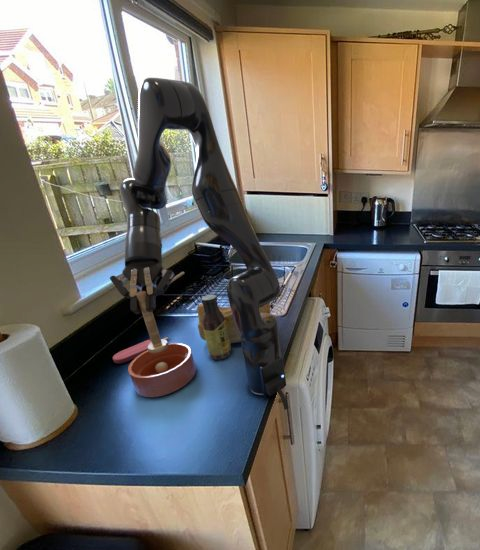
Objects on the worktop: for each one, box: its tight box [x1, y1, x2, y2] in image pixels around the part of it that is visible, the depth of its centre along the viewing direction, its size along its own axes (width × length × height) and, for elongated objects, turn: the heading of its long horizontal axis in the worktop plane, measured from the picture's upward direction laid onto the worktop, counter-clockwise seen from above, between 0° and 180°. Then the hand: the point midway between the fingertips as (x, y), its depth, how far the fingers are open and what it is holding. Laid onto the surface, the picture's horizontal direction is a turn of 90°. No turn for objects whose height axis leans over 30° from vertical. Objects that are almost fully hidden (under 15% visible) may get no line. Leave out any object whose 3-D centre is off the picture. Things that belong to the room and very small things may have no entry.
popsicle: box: [112, 336, 169, 364], centre depth 96 cm, size 5×2×15 cm
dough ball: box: [155, 362, 168, 373], centre depth 86 cm, size 3×3×3 cm
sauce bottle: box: [200, 294, 232, 361], centre depth 91 cm, size 7×6×20 cm
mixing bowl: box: [127, 342, 197, 398], centre depth 83 cm, size 14×14×7 cm
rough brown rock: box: [196, 302, 271, 344], centre depth 103 cm, size 23×17×15 cm
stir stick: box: [136, 290, 169, 353], centre depth 75 cm, size 4×4×16 cm
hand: (143, 312), depth 72 cm, fingers closed on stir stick, 2 cm apart
